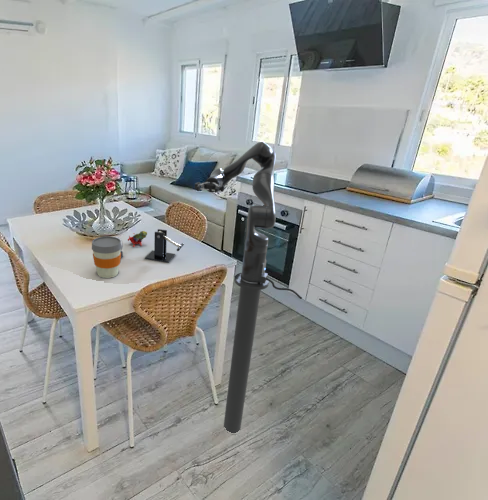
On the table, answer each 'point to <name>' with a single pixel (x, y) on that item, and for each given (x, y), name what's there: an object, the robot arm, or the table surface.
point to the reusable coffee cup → (107, 255)
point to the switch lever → (173, 242)
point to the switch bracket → (160, 248)
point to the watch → (121, 246)
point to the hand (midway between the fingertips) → (206, 189)
